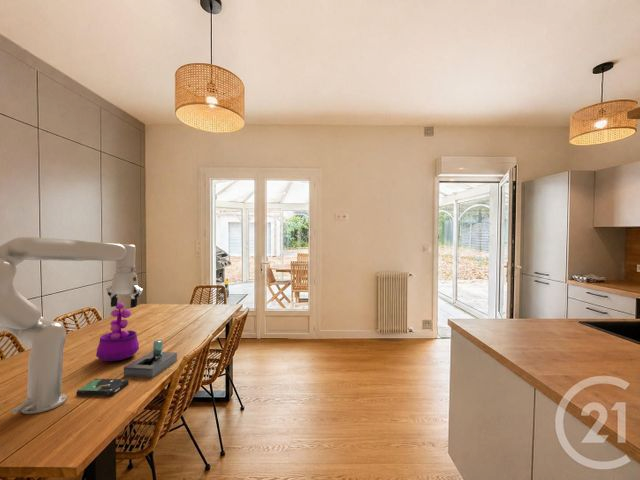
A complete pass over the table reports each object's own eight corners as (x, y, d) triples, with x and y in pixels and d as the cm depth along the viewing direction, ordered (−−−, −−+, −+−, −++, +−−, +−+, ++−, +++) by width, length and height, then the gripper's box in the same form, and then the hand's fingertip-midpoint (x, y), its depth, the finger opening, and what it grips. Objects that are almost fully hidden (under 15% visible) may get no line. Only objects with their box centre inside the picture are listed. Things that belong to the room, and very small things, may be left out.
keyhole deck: (152, 378, 132) (152, 368, 133) (123, 376, 133) (123, 367, 133) (176, 360, 152) (177, 352, 152) (151, 359, 153) (151, 351, 153)
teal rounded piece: (159, 366, 145) (159, 343, 145) (149, 366, 145) (150, 342, 145) (164, 362, 150) (165, 339, 150) (155, 362, 150) (156, 339, 150)
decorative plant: (134, 349, 167) (136, 297, 167) (142, 358, 153) (144, 302, 154) (93, 357, 153) (95, 301, 154) (98, 369, 140) (100, 307, 141)
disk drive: (129, 385, 127) (95, 384, 126) (129, 379, 127) (95, 378, 126) (112, 398, 116) (75, 397, 116) (112, 391, 116) (75, 390, 116)
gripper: (148, 270, 139) (146, 305, 138) (114, 269, 140) (112, 304, 139) (137, 271, 131) (135, 309, 131) (101, 270, 132) (99, 307, 132)
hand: (123, 306), depth 135 cm, fingers open, 9 cm apart
